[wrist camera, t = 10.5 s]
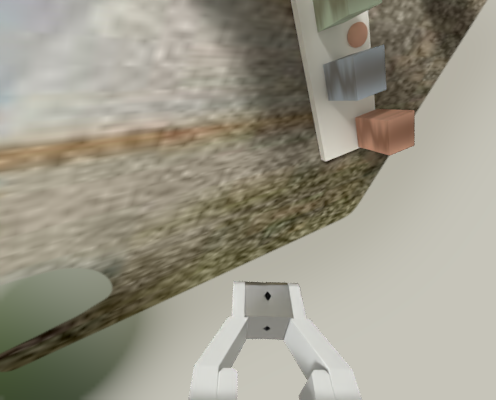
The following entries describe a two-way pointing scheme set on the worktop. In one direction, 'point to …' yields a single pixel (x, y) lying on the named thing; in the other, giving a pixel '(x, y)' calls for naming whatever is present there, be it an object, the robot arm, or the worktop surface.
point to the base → (314, 57)
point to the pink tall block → (386, 130)
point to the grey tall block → (356, 75)
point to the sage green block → (339, 11)
